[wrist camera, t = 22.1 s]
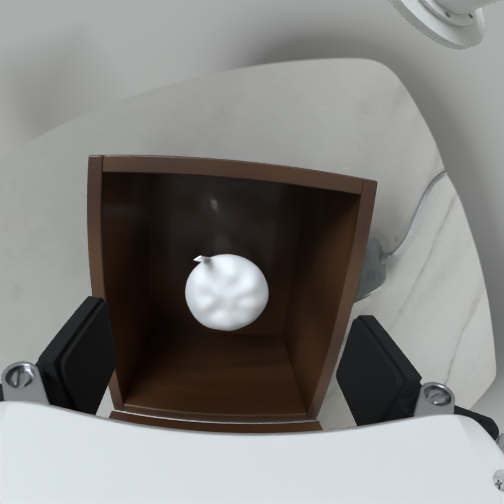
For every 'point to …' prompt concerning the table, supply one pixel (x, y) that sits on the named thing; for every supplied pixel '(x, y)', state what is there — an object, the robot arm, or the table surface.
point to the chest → (182, 263)
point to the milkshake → (226, 285)
